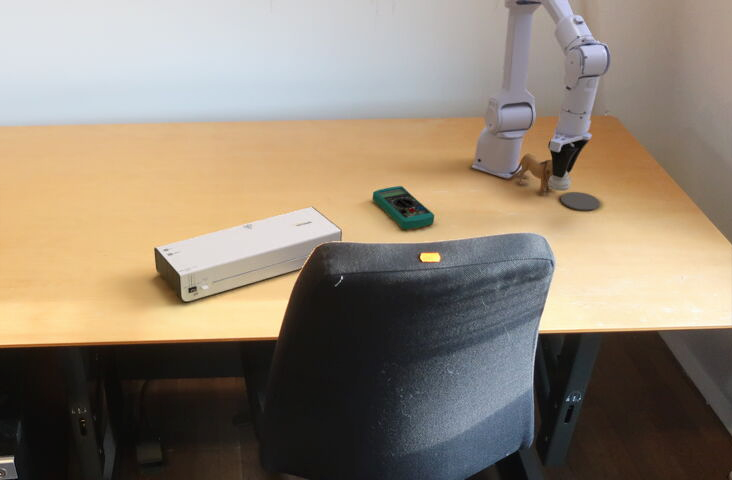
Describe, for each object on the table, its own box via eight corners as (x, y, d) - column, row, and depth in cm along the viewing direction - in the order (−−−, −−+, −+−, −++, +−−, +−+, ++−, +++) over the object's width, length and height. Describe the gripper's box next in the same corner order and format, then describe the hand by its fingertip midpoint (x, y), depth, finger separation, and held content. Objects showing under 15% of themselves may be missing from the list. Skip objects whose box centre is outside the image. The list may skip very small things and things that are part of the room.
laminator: (310, 233, 174) (311, 205, 171) (343, 260, 166) (345, 232, 162) (156, 275, 161) (153, 246, 157) (183, 307, 153) (181, 278, 149)
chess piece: (551, 191, 174) (562, 145, 168) (544, 182, 178) (554, 136, 172) (572, 191, 175) (584, 144, 168) (565, 181, 178) (576, 135, 172)
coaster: (554, 203, 185) (554, 201, 185) (570, 190, 190) (570, 188, 190) (590, 214, 181) (590, 212, 181) (604, 201, 186) (605, 199, 186)
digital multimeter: (403, 232, 175) (405, 219, 173) (371, 201, 186) (372, 188, 184) (435, 226, 177) (437, 213, 175) (401, 195, 188) (402, 183, 186)
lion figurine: (569, 195, 189) (579, 157, 183) (555, 202, 186) (564, 164, 180) (515, 173, 198) (522, 136, 192) (500, 179, 195) (507, 142, 189)
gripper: (580, 125, 160) (564, 191, 168) (611, 103, 169) (594, 167, 177) (545, 115, 163) (531, 181, 171) (577, 94, 172) (562, 157, 180)
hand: (561, 173), depth 174 cm, fingers closed on chess piece, 3 cm apart
